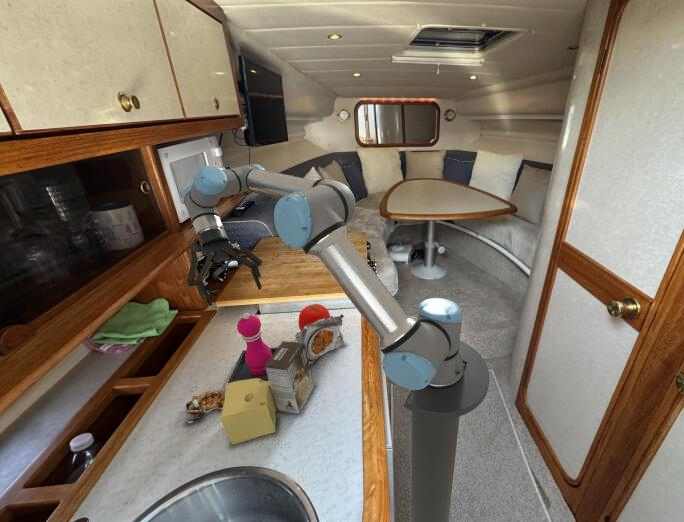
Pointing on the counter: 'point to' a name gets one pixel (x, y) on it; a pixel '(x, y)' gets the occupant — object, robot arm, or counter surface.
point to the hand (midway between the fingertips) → (236, 296)
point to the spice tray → (246, 370)
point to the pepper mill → (254, 344)
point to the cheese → (248, 410)
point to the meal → (321, 336)
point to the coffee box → (290, 376)
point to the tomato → (312, 314)
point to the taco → (205, 404)
